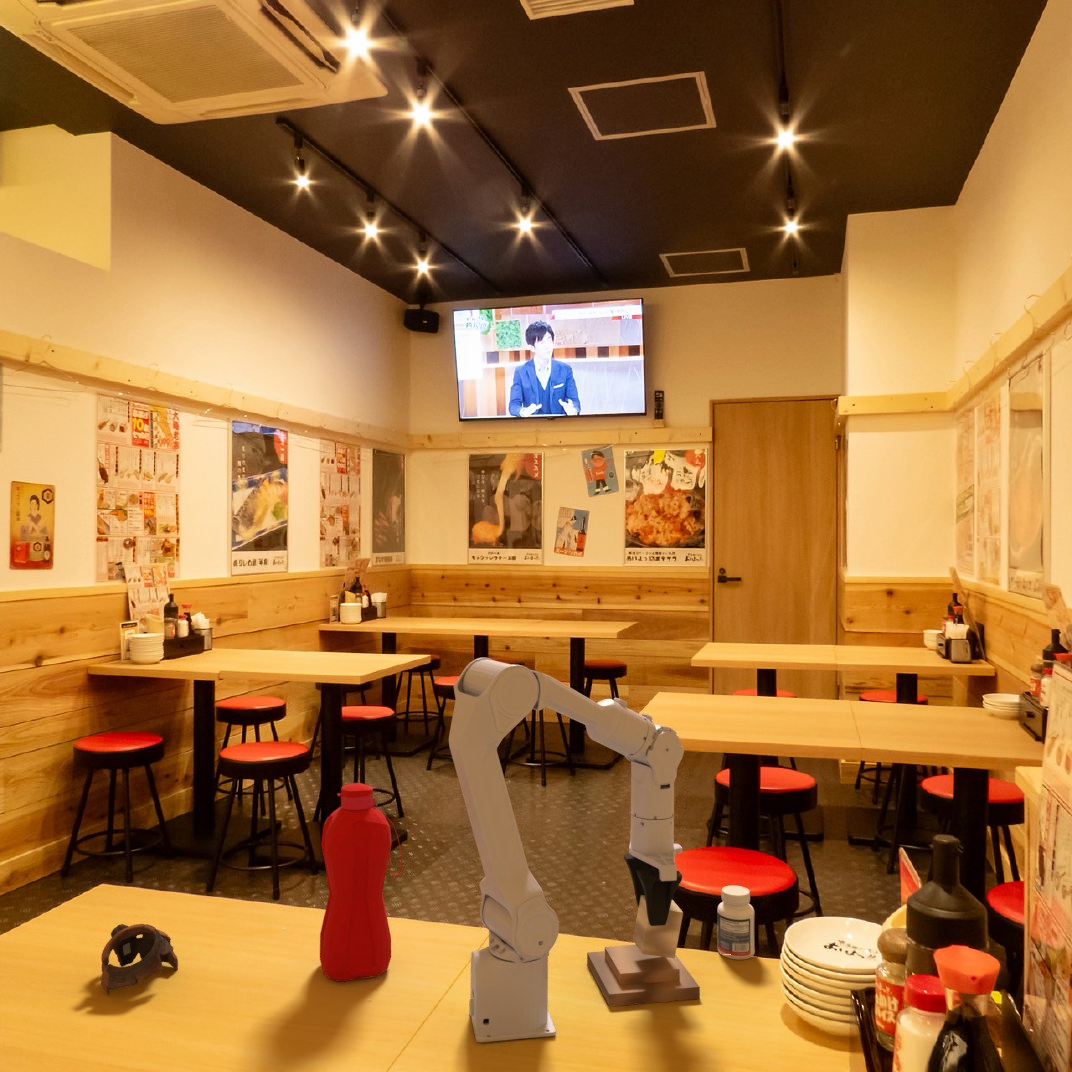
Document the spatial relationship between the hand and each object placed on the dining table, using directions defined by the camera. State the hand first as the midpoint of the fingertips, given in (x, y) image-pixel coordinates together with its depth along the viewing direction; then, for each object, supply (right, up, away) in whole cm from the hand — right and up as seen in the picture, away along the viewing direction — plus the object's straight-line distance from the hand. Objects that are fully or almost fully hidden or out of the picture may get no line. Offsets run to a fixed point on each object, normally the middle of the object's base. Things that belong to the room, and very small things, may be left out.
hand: (651, 916), depth 118 cm
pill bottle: (+13, -9, +9) cm, 19 cm away
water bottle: (-39, -9, +4) cm, 41 cm away
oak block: (0, -4, 0) cm, 4 cm away
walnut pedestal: (-1, -9, +1) cm, 9 cm away
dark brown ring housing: (-69, -9, 0) cm, 69 cm away
